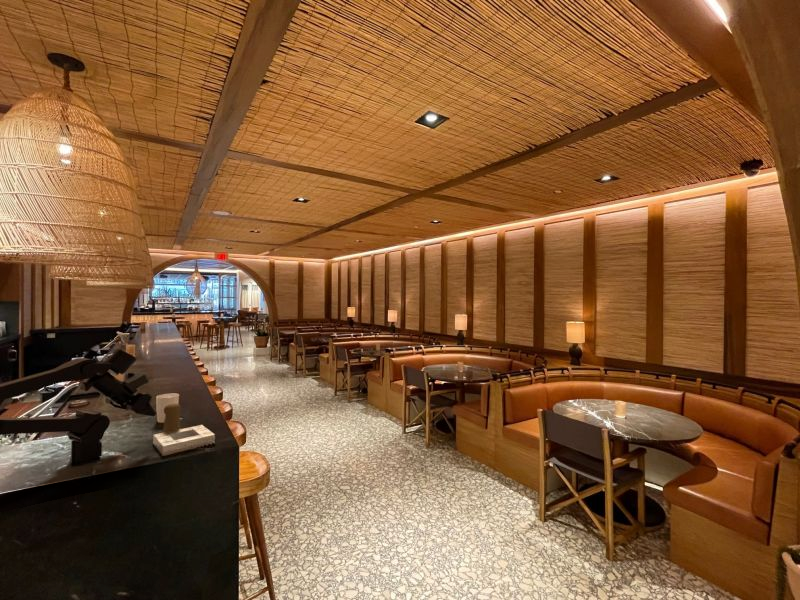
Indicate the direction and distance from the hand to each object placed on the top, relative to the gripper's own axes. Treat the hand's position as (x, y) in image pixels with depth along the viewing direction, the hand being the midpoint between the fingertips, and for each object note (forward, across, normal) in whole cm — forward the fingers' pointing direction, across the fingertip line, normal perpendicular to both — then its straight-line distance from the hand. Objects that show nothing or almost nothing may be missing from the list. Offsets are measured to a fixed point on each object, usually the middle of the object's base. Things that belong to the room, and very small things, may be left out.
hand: (147, 412), depth 123 cm
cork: (+13, 0, +2) cm, 13 cm away
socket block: (+11, -12, +3) cm, 16 cm away
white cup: (+19, +19, -4) cm, 27 cm away
